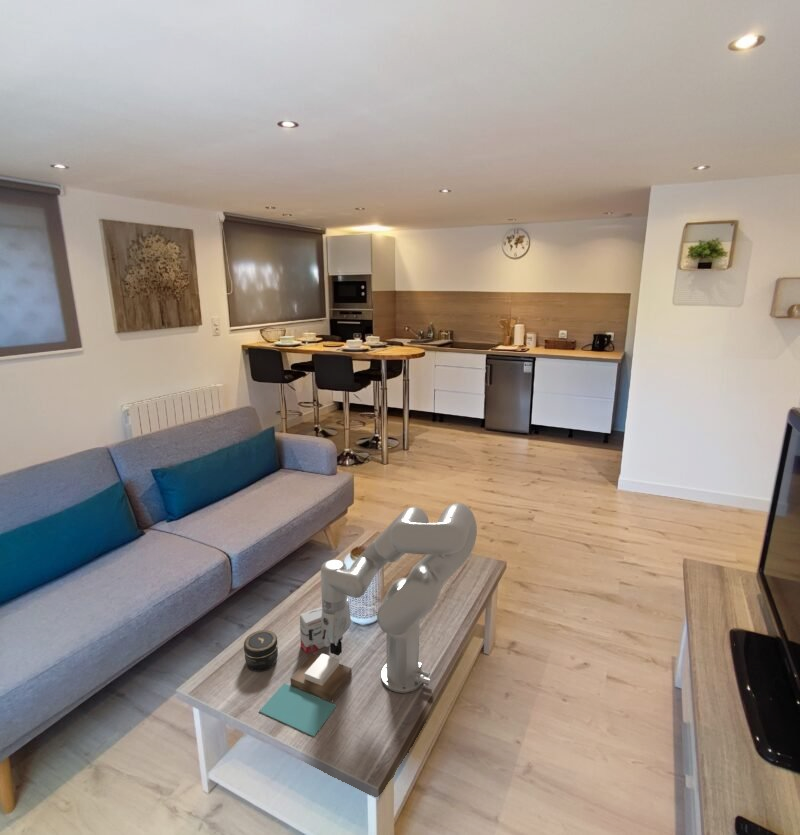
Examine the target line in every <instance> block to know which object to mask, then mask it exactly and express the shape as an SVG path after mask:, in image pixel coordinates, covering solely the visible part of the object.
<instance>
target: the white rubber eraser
mask: <svg viewBox="0 0 800 835" xmlns="http://www.w3.org/2000/svg"><path fill="white" fill-rule="evenodd" d="M318 656H319V657H318V659H317V660H316V661H315V662H314V663H313V664H312V665H311V667H310V668H309V669H308V670H307V671H306V672H305V679H306V680H308V681H311V682H313V683H316V684H318V685H321V686H323V685H324V683H325V682H326V681H327V680H328V678H329V677H330V676H331V675H332V673H333V672H334V671H335V670H336V668H337V667H338V666H339V664H340V659H339V658H336V657H334V656H331V655H328V654H325V653H321V654H320V655H318Z"/></svg>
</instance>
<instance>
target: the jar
mask: <svg viewBox="0 0 800 835" xmlns="http://www.w3.org/2000/svg"><path fill="white" fill-rule="evenodd" d="M278 641H279V640H278V637H277V635H276V634H275V632H273V631H271V630H269V629H268V630H266V629H262V630H257V631H255V632H254V631H253V632H252V633H250V634H248V636H247V637H246V638H245V639H244V642H243V651H244V652H243V653H244V660H245V664H246V666H247V667H248V669H249V670H252V671H254V672H262V671H263V672H264V671H266V670H268V669H271V668H272V667H273V666H275V664H276V662H277V660H278V656H279V650H278V646H279V645H278V644H279V642H278Z"/></svg>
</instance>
